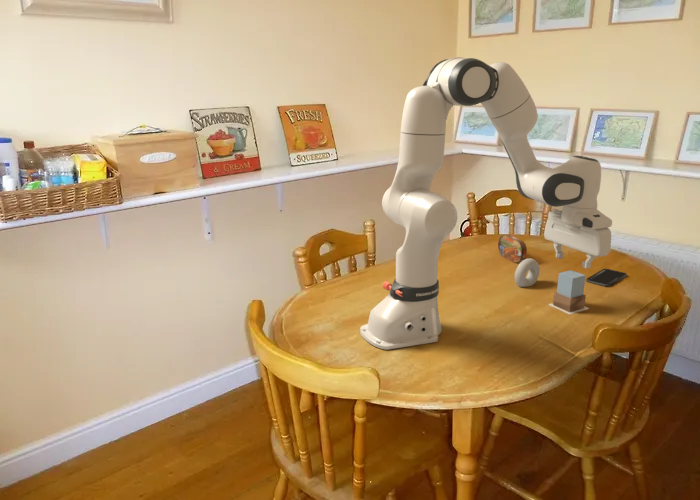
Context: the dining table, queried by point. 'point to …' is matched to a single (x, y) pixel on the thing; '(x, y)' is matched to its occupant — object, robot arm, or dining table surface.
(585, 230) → the robot arm
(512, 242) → the tin
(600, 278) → the phone
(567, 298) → the walnut block
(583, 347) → the dining table surface
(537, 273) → the donut
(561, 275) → the blue block
